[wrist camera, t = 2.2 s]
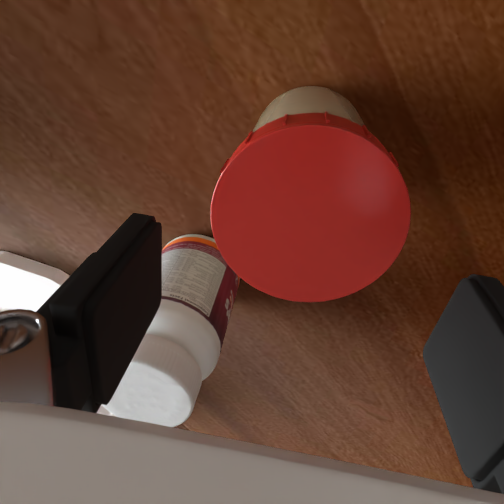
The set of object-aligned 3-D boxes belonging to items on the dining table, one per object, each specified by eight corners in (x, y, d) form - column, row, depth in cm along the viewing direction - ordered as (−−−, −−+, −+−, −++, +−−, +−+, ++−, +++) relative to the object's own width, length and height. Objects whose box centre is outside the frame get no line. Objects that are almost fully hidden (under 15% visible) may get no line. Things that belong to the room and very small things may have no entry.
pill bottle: (228, 309, 29) (188, 449, 20) (154, 283, 29) (76, 414, 19) (252, 248, 26) (218, 381, 16) (168, 218, 25) (83, 337, 16)
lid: (249, 81, 12) (240, 90, 11) (439, 151, 13) (456, 169, 11) (202, 245, 16) (191, 269, 15) (349, 295, 17) (353, 324, 15)
